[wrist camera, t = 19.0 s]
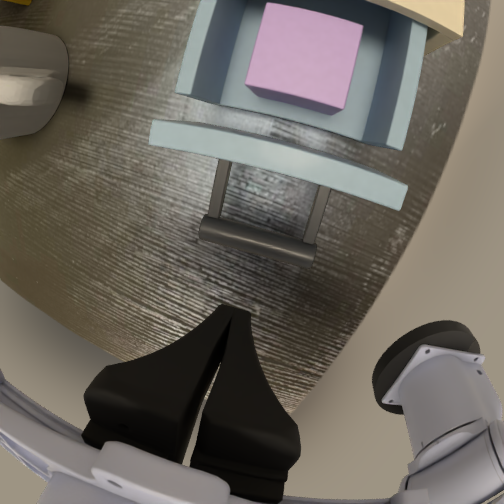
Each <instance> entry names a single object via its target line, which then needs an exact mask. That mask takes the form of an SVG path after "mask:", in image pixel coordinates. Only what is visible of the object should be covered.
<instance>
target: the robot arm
mask: <svg viewBox="0 0 504 504" xmlns="http://www.w3.org/2000/svg"><path fill="white" fill-rule="evenodd" d="M426 350H427V351H426ZM484 360H485V356H484V355H483V354H477V353H471V352H465V351H459V350H453V349H448V348H442V347H437V346H431V345H426V344H423V345H421V346H419V347H418V349H417V350H416V352H415V353H414V355H413V356H412V358H411V359H410V361H409V362H408V364H407V365H406V367H405V368H404V370H403V371H402V373H401V374H400V375H399V377H398V378H397V379H396V381H395V382H394V384H393V385H392V386H391V388H390V389H389V390H388V392H387V393H386V394H385V395H384V397H383V398H382V402H383V403H385V404H394V405H402V408H403V412H404V416H405V420H406V424H407V428H408V433H409V437H410V441H411V446H412V451H413V455H414V461H412V462H411V463H409V464H408V470H409V474H408V475H406V476H405V477H404V478H403V480H402V482H401V484H400V487H399V491H398V493H397V494H395V495H393V496H392V497H391V498H386V499H367V500H366V499H364V500H338V499H336V500H335V499H317V498H303V497H293V496H285V495H283V492H284V483H285V482H286V481H287V477H288V470H289V469H290V468H291V467H292V466H293V465H294V464H295V463H296V462H297V460H298V459H299V457H300V453H301V444H300V435H299V431H298V426H297V424H296V423H295V422H294V421H293V419H292V418H291V417H290V416H289V415H288V413H287V412H286V411H285V410H284V408H283V407H282V405H281V404H280V402H279V401H278V399H277V398H276V396H275V394H274V392H273V391H272V389H271V387H270V386H269V384H268V382H267V379H266V377H265V375H264V373H263V370H262V368H261V365H260V362H259V360H258V356H257V353H256V349H255V345H254V341H253V336H252V329H251V313H250V312H249V311H245V310H242V309H238V308H235V307H231V306H228V305H224V304H221V305H219V306H218V307H217V308H216V310H215V311H214V312H213V313H212V314H211V315H210V316H209V317H207V318H206V319H205V320H204V321H203V322H202V323H200V324H199V325H198V326H197V327H196V328H194V329H193V330H192V331H190V332H189V333H187V334H186V335H185V336H183V337H182V338H180V339H179V340H177V341H175V342H174V343H172V344H170V345H168V346H166V347H164V348H162V349H160V350H158V351H156V352H154V353H151V354H149V355H146V356H143V357H140V358H137V359H134V360H131V361H127V362H123V363H118V364H114V365H109V366H106V367H105V368H104V369H103V370H102V371H101V372H100V373H99V374H98V375H97V376H96V377H95V378H94V380H93V381H92V382H91V384H90V385H89V387H88V388H87V389H86V391H85V393H84V401H85V404H86V407H87V411H88V413H89V416H90V419H91V420H90V421H89V423H88V424H87V426H86V428H85V429H84V431H82V430H81V429H79V428H77V427H75V426H73V425H72V424H70V423H68V422H66V421H65V420H63V419H61V418H60V417H58V416H56V415H55V414H53V413H52V412H50V411H49V410H47V409H45V408H44V407H42V406H41V405H39V404H38V403H36V402H35V401H33V400H32V399H31V398H29V397H28V396H26V395H25V394H24V393H22V392H21V391H19V390H18V389H17V388H16V387H14V386H13V385H12V384H10V383H9V382H8V381H6V380H5V378H4V376H3V373H2V371H1V369H0V445H1V446H2V447H4V448H5V449H6V450H7V451H9V453H10V454H12V455H13V456H14V457H15V458H16V459H18V460H19V461H20V462H21V463H22V464H24V465H25V466H26V467H28V468H29V469H30V470H31V471H33V472H34V473H35V474H37V475H38V476H39V477H41V478H42V479H44V480H45V481H46V482H48V484H47V486H46V487H45V489H44V491H43V493H42V494H41V496H40V498H39V500H38V501H37V503H36V504H481V503H483V502H485V501H486V500H488V499H490V498H491V497H493V496H495V495H497V494H498V493H500V492H501V491H503V490H504V421H502V420H501V419H502V405H501V401H500V399H499V397H498V395H497V393H496V391H495V389H494V387H493V385H492V384H491V382H490V380H489V378H488V376H487V374H486V372H485V371H484V369H483V367H482V365H481V364H482V363H483V362H484ZM220 362H221V364H220ZM219 365H220V368H219V371H218V373H217V376H216V379H215V382H214V384H213V387H212V389H211V392H210V394H209V397H208V399H207V402H206V404H205V407H204V409H203V412H202V417H201V421H200V426H199V431H198V436H197V441H196V445H195V448H194V451H193V454H192V457H191V460H190V461H191V462H190V467H187V466H184V465H182V462H183V459H184V456H185V453H186V450H187V447H188V444H189V441H190V438H191V434H192V431H193V428H194V425H195V422H196V419H197V416H198V413H199V410H200V407H201V405H202V402H203V400H204V397H205V395H206V393H207V391H208V389H209V386H210V384H211V382H212V380H213V378H214V376H215V373H216V371H217V369H218V367H219ZM487 504H504V494H502V495H501V496H499V497H497V498H496V499H494V500H492V501H491V502H489V503H487Z"/></svg>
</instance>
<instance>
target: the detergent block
mask: <svg viewBox="0 0 504 504" xmlns="http://www.w3.org/2000/svg"><path fill="white" fill-rule="evenodd" d="M362 32H363V25H360V24H357V23H354V22H351V21H348V20H345V19H341V18H338V17H334V16H331V15H327V14H323V13H319V12H315V11H311V10H307V9H302V8H297V7H292V6H287V5H282V4H276V3H269V2H267V3H266V6H265V9H264V13H263V16H262V20H261V23H260V27H259V30H258V34H257V37H256V41H255V45H254V48H253V52H252V56H251V59H250V63H249V67H248V71H247V75H246V78H245V82H244V84H245V85H246V86H247V87H248V88H249V89H250V90H251V91H252V92H253V93H254V94H255V95H256V96H258V97H261V98H265V99H270V100H274V101H279V102H283V103H287V104H291V105H295V106H299V107H302V108H306V109H310V110H313V111H317V112H320V113H324V114H327V115H330V116H332V115H334V114H336V113H338V112H340V111H342V110H344V108H345V104H346V101H347V97H348V93H349V88H350V84H351V80H352V76H353V72H354V68H355V63H356V59H357V55H358V50H359V46H360V41H361V37H362Z"/></svg>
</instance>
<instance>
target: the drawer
mask: <svg viewBox="0 0 504 504" xmlns="http://www.w3.org/2000/svg"><path fill="white" fill-rule="evenodd" d="M267 2H269V3H276V4H282V5H287V6H292V7H297V8H302V9H307V10H311V11H315V12H319V13H323V14H327V15H331V16H334V17H338V18H341V19H345V20H348V21H351V22H354V23H357V24H360V25H363V32H362V37H361V41H360V46H359V50H358V55H357V59H356V63H355V68H354V72H353V76H352V80H351V84H350V88H349V93H348V97H347V101H346V104H345V108H344V110H342V111H340V112H338V113H336V114H334V115H332V116H330V115H327V114H324V113H320V112H317V111H313V110H310V109H306V108H302V107H299V106H295V105H291V104H287V103H283V102H279V101H274V100H270V99H265V98H261V97H258V96H256V95H255V94H254V93H253V92H252V91H251V90H250V89H249V88H248V87H247V86H246V85H245V84H244V82H245V78H246V75H247V71H248V67H249V63H250V59H251V56H252V52H253V48H254V45H255V41H256V37H257V34H258V30H259V27H260V23H261V20H262V16H263V13H264V9H265V6H266V3H267ZM427 29H428V26H427V25H425V24H422V23H420V22H418V21H416V20H414V19H412V18H410V17H407V16H405V15H403V14H400V13H398V12H395V11H393V10H391V9H388V8H385V7H383V6H380V5H377V4H375V3H372V2H369V1H366V0H201V1H200V4H199V7H198V10H197V13H196V16H195V19H194V22H193V25H192V29H191V32H190V35H189V39H188V42H187V46H186V49H185V53H184V57H183V60H182V64H181V68H180V72H179V76H178V80H177V84H176V89H175V93H177V94H180V95H184V96H187V97H191V98H194V99H197V100H201V101H204V102H207V103H210V104H215V105H221V106H226V107H232V108H237V109H242V110H247V111H252V112H256V113H261V114H265V115H270V116H274V117H278V118H282V119H286V120H290V121H294V122H298V123H301V124H305V125H309V126H312V127H316V128H319V129H322V130H326V131H329V132H332V133H335V134H339V135H342V136H345V137H348V138H351V139H354V140H357V141H360V142H362V143H365V144H368V145H373V146H378V147H383V148H389V149H394V150H399V151H402V149H403V145H404V142H405V138H406V134H407V130H408V126H409V123H410V119H411V114H412V110H413V106H414V102H415V97H416V92H417V88H418V83H419V78H420V73H421V67H422V62H423V56H424V50H425V43H426V36H427ZM148 144H149V145H152V146H157V147H163V148H169V149H174V150H179V151H184V152H189V153H194V154H199V155H204V156H209V157H213V158H218V159H219V161H218V165H217V170H216V175H215V180H214V185H213V190H212V195H211V200H210V205H209V210H208V214H205V215H204V217H203V219H202V221H201V224H200V228H199V239H201V240H205V241H208V242H212V243H215V244H219V245H223V246H226V247H230V248H234V249H237V250H241V251H244V252H248V253H252V254H255V255H259V256H263V257H266V258H270V259H273V260H277V261H281V262H284V263H288V264H292V265H295V266H299V267H303V268H306V269H310V268H311V266H312V264H313V261H314V258H315V255H316V250H317V244H316V243H314V242H315V239H316V236H317V233H318V230H319V227H320V224H321V221H322V218H323V214H324V211H325V208H326V205H327V202H328V198H329V195H330V192H331V189H335V190H338V191H341V192H344V193H347V194H351V195H354V196H357V197H360V198H363V199H366V200H369V201H372V202H375V203H378V204H380V205H383V206H386V207H389V208H392V209H395V210H397V211H400V209H401V207H402V204H403V201H404V198H405V195H406V192H407V189H408V186H407V185H406V184H404V183H402V182H400V181H398V180H396V179H394V178H392V177H390V176H388V175H386V174H384V173H382V172H380V171H378V170H376V169H374V168H371V167H369V166H366V165H363V164H360V163H357V162H354V161H351V160H348V159H345V158H342V157H339V156H336V155H332V154H329V153H326V152H323V151H319V150H316V149H312V148H309V147H305V146H302V145H298V144H295V143H291V142H287V141H283V140H279V139H276V138H271V137H267V136H263V135H259V134H255V133H250V132H246V131H241V130H237V129H232V128H227V127H222V126H217V125H211V124H206V123H200V122H191V121H177V120H159V119H154V120H153V121H152V126H151V131H150V137H149V143H148ZM232 162H235V163H240V164H244V165H248V166H252V167H256V168H260V169H264V170H268V171H272V172H276V173H279V174H283V175H287V176H290V177H294V178H298V179H301V180H305V181H308V182H312V183H315V184H318V188H317V192H316V195H315V199H314V202H313V205H312V209H311V212H310V215H309V218H308V222H307V225H306V228H305V231H304V235H303V240H302V239H299V238H295V237H292V236H288V235H284V234H281V233H277V232H274V231H270V230H266V229H263V228H259V227H255V226H252V225H248V224H244V223H240V222H237V221H233V220H229V219H225V218H222V217H220V216H221V213H222V208H223V203H224V198H225V194H226V189H227V184H228V180H229V175H230V171H231V166H232Z"/></svg>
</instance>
